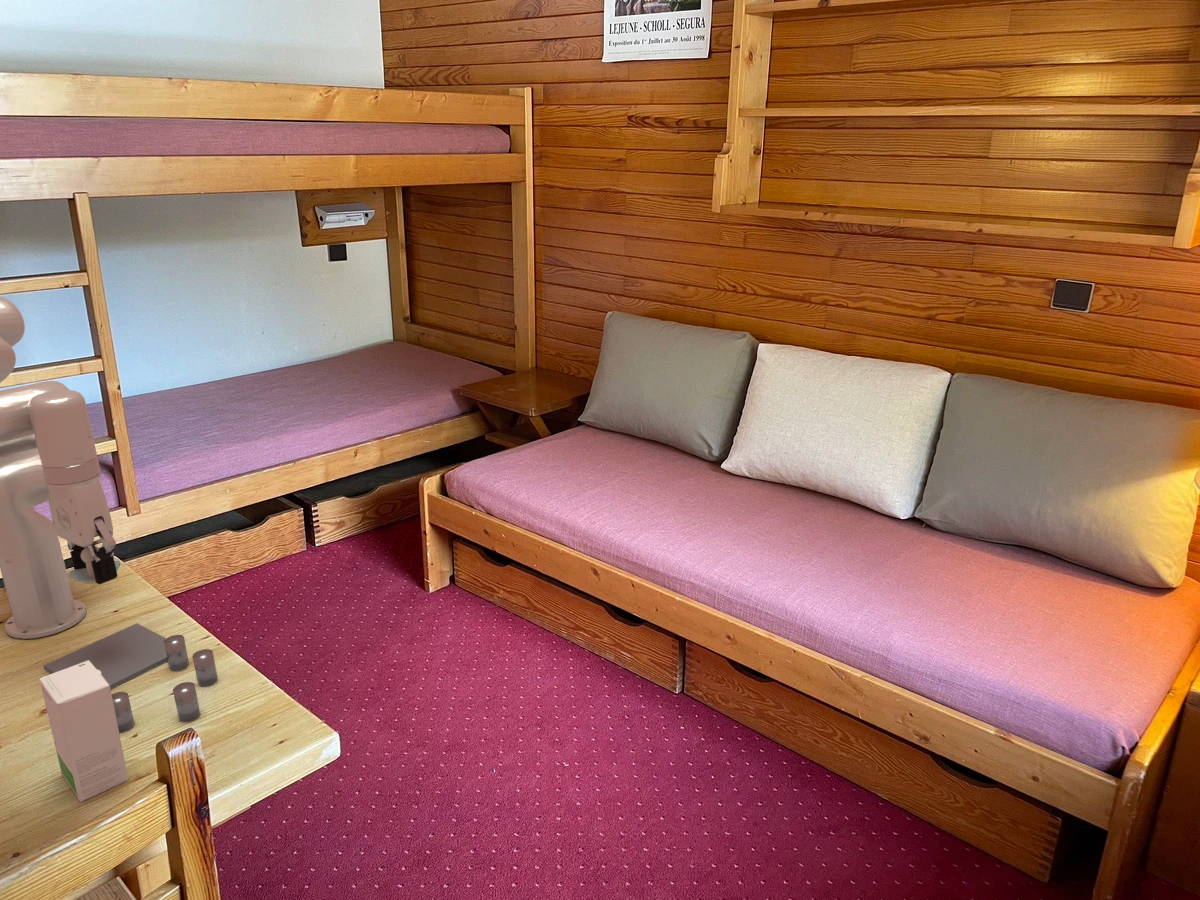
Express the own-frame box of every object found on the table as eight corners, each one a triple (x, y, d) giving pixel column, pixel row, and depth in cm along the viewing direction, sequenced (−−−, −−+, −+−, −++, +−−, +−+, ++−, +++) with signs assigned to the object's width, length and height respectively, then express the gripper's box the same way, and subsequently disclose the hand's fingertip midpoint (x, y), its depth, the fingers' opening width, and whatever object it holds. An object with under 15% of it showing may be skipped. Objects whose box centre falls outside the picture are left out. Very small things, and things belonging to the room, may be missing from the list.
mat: (44, 669, 150) (43, 665, 150) (137, 627, 162) (136, 623, 162) (91, 699, 142) (90, 694, 141) (186, 652, 154) (185, 648, 154)
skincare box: (61, 774, 125) (35, 677, 120) (112, 752, 129) (89, 657, 124) (80, 804, 119) (54, 703, 114) (133, 780, 124) (110, 681, 118)
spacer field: (80, 710, 139) (73, 682, 137) (182, 659, 152) (177, 632, 150) (141, 750, 130) (134, 720, 128) (244, 691, 143) (239, 664, 141)
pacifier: (70, 578, 148) (72, 591, 143) (62, 542, 146) (63, 555, 141) (120, 566, 152) (124, 579, 147) (112, 531, 150) (116, 543, 145)
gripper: (20, 467, 142) (46, 571, 148) (75, 489, 133) (101, 599, 139) (69, 453, 148) (92, 554, 154) (125, 473, 139) (148, 579, 145)
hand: (96, 574), depth 146 cm, fingers closed on pacifier, 5 cm apart
